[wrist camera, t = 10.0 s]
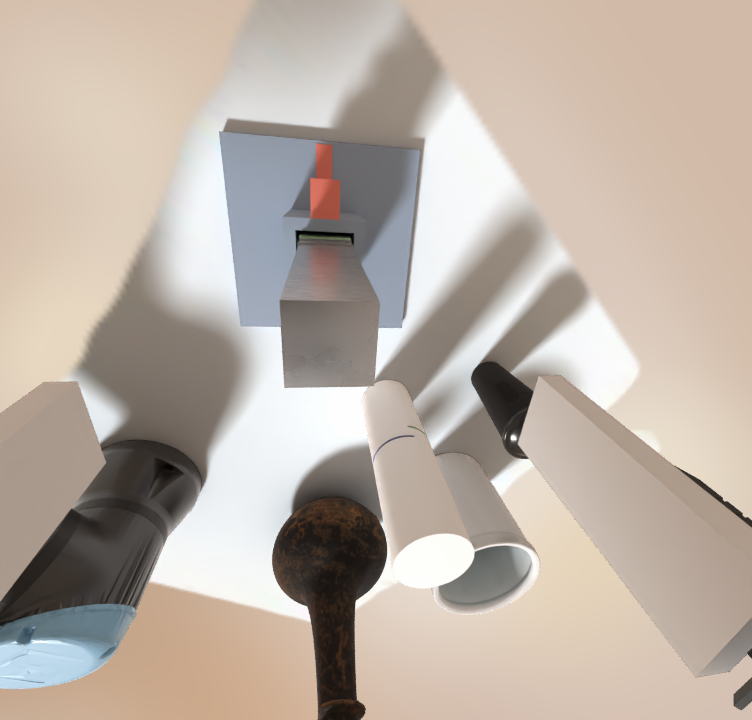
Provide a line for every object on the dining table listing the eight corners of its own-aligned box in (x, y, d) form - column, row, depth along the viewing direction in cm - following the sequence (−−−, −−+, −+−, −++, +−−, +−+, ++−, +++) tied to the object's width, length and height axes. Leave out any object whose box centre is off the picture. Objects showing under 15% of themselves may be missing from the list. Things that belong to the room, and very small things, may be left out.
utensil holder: (465, 433, 57) (519, 526, 42) (498, 485, 64) (556, 582, 48) (388, 477, 59) (412, 582, 43) (428, 523, 66) (462, 628, 50)
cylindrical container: (362, 380, 50) (396, 537, 28) (411, 379, 51) (481, 530, 29) (360, 421, 53) (389, 592, 31) (406, 419, 54) (466, 583, 32)
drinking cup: (454, 392, 53) (520, 498, 35) (474, 348, 50) (557, 438, 32) (497, 401, 55) (581, 505, 37) (519, 358, 52) (622, 449, 34)
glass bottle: (278, 555, 64) (252, 791, 39) (274, 481, 56) (238, 719, 31) (375, 547, 67) (408, 763, 42) (385, 477, 59) (431, 691, 34)
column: (302, 275, 35) (281, 390, 16) (301, 229, 33) (275, 295, 14) (346, 276, 36) (377, 389, 16) (347, 231, 34) (383, 298, 14)
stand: (242, 322, 44) (220, 362, 34) (222, 132, 35) (184, 113, 25) (399, 324, 47) (420, 361, 37) (417, 150, 38) (451, 139, 28)
